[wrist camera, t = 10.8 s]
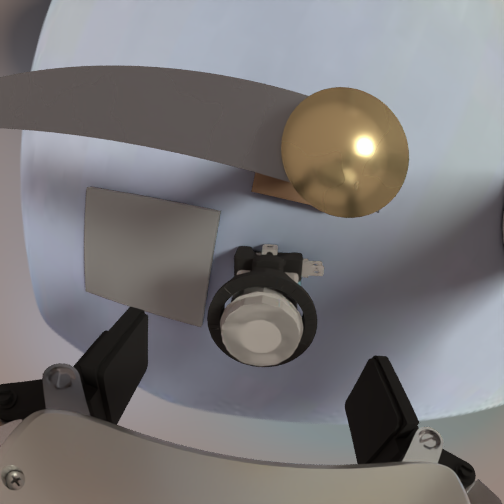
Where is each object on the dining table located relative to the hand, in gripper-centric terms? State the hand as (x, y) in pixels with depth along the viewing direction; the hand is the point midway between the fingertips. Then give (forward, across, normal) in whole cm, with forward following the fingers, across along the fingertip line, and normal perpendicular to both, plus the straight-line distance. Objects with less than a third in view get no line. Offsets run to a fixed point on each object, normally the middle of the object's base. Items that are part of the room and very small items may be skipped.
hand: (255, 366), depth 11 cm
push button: (+12, -1, 0) cm, 12 cm away
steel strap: (+1, +6, -9) cm, 11 cm away
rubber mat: (+12, +10, +2) cm, 16 cm away
